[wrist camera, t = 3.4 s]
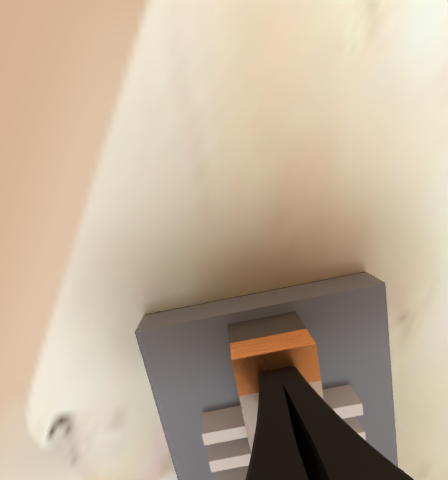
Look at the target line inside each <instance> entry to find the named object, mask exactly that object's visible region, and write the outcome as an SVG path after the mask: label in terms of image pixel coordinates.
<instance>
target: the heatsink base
mask: <svg viewBox="0 0 448 480" xmlns="http://www.w3.org/2000/svg"><path fill="white" fill-rule="evenodd" d="M301 329H307V330H308V332H309V333H310V335H311V337H312V338H313V340H314V341H315V343H316V347H317V354H318V361H319V369H320V376H321V383H322V391H323V398H324V401H325V402H326V403H327V404H328V405H329V406H330V407H331V408H332V409H333V410H334V411H335V412H336V413H337V414H338V415H339V416H340V417H341V418H342V419H343V420H344V421H345V422H346V423H347V424H348V425H349V426H350V427H351V428H353V429H354V430H355V431H356V432H357V433H358V434H359V435H360V436H361V437H362V438H363V439H365V440H366V441H367V442H368V443H369V444H370V445H371V446H373V447H374V448H375V449H376V450H377V451H379V452H380V453H381V454H382V455H383V456H385V457H386V458H387V459H388V460H389V461H391V462H392V463H393V464H394V465H396V466H397V467H398V462H397V448H396V434H395V419H394V405H393V390H392V376H391V361H390V347H389V332H388V318H387V303H386V289H385V283H384V282H382V281H381V280H379V279H377V278H375V277H374V276H372V275H370V274H369V273H367V272H363V273H358V274H352V275H347V276H342V277H337V278H332V279H327V280H322V281H317V282H312V283H306V284H301V285H296V286H291V287H286V288H281V289H276V290H271V291H266V292H260V293H255V294H250V295H245V296H240V297H235V298H230V299H225V300H219V301H214V302H209V303H204V304H199V305H194V306H189V307H184V308H179V309H173V310H168V311H163V312H158V313H153V314H148V315H144V316H143V318H142V320H141V322H140V323H139V325H138V327H137V329H136V331H135V334H136V337H137V341H138V344H139V348H140V351H141V354H142V358H143V361H144V365H145V368H146V372H147V375H148V378H149V382H150V385H151V389H152V392H153V396H154V399H155V402H156V406H157V409H158V413H159V416H160V420H161V423H162V426H163V430H164V433H165V437H166V440H167V444H168V447H169V450H170V454H171V457H172V461H173V464H174V468H175V471H176V474H177V478H178V480H245V479H246V475H247V471H248V467H249V462H250V457H251V451H250V446H249V442H248V437H247V432H246V427H245V423H244V418H243V413H242V409H241V404H240V399H239V394H238V390H237V385H236V380H235V375H234V371H233V366H232V361H231V352H230V343H235V342H240V341H245V340H250V339H255V338H260V337H265V336H271V335H276V334H281V333H286V332H291V331H296V330H301Z"/></svg>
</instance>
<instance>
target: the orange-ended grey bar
mask: <svg viewBox="0 0 448 480" xmlns="http://www.w3.org/2000/svg"><path fill="white" fill-rule="evenodd" d="M230 352H231V361H232V366H233V371H234V375H235V380H236V385H237V390H238V394H239V399H240V404H241V409H242V413H243V418H244V423H245V427H246V432H247V437H248V442H249V446H250V451H251V452H252V447H253V441H254V435H255V429H256V422H257V412H258V401H259V381H258V374H259V373H260V372H264V371H269V370H274V369H280V368H285V367H290V366H294V367H296V368H297V369H298V371H299V372H300V373H301V375H302V376H303V377H304V378H305V380H306V381H307V382H308V383H309V384H310V385H311V387H312V388H313V389H314V390H315V391H316V392H317V393H318V394H319V396H320V397H321V398H322V399H323V400H324V398H323V391H322V383H321V376H320V369H319V361H318V354H317V347H316V343H315V341H314V340H313V338H312V337H311V335H310V333H309V332H308V330H307V329H301V330H296V331H291V332H286V333H281V334H276V335H271V336H265V337H260V338H255V339H250V340H245V341H240V342H235V343H230Z"/></svg>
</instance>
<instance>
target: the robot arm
mask: <svg viewBox="0 0 448 480" xmlns="http://www.w3.org/2000/svg"><path fill="white" fill-rule="evenodd" d="M258 381H259V401H258V412H257V422H256V429H255V435H254V441H253V447H252V452H251V457H250V462H249V467H248V471H247V475H246V479H245V480H414V479H412V478H411V477H410V476H409V475H407V474H406V473H405V472H403V471H402V470H401V469H400V468H398V467H397V466H396V465H394V464H393V463H392V462H391V461H389V460H388V459H387V458H386V457H385V456H383V455H382V454H381V453H380V452H379V451H377V450H376V449H375V448H374V447H373V446H371V445H370V444H369V443H368V442H367V441H366V440H365V439H363V438H362V437H361V436H360V435H359V434H358V433H357V432H356V431H355V430H354V429H353V428H351V427H350V426H349V425H348V424H347V423H346V422H345V421H344V420H343V419H342V418H341V417H340V416H339V415H338V414H337V413H336V412H335V411H334V410H333V409H332V408H331V407H330V406H329V405H328V404H327V403H326V402H325V401H324V400H323V399H322V398H321V397H320V396H319V394H318V393H317V392H316V391H315V390H314V389H313V388H312V387H311V385H310V384H309V383H308V382H307V381H306V380H305V378H304V377H303V376H302V375H301V373H300V372H299V371H298V369H297V368H296V367H294V366H290V367H285V368H280V369H274V370H269V371H264V372H260V373H259V374H258Z"/></svg>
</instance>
